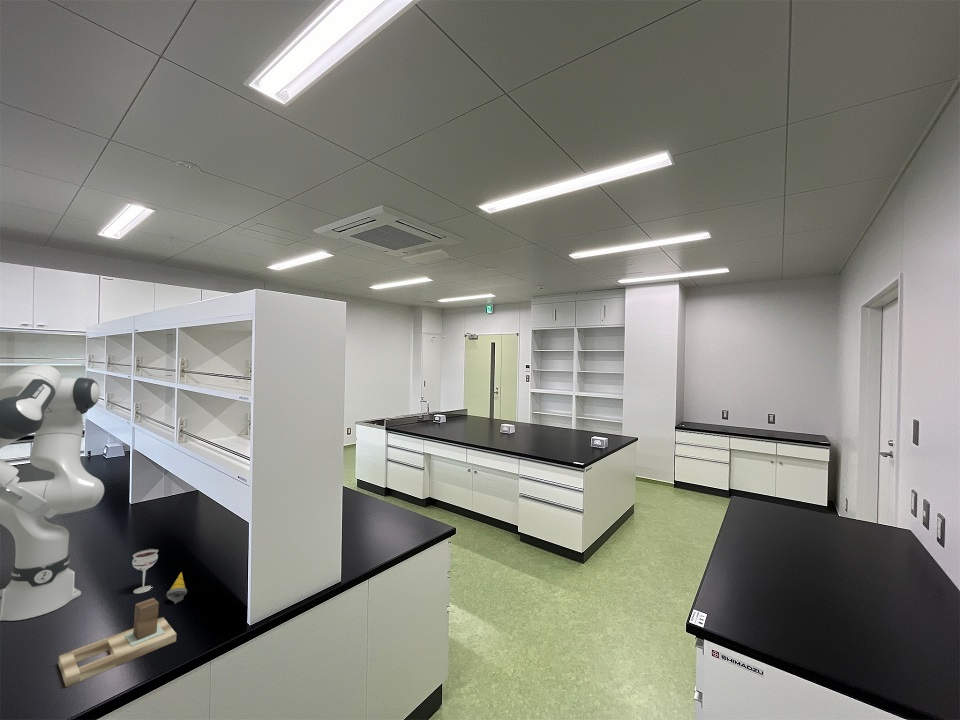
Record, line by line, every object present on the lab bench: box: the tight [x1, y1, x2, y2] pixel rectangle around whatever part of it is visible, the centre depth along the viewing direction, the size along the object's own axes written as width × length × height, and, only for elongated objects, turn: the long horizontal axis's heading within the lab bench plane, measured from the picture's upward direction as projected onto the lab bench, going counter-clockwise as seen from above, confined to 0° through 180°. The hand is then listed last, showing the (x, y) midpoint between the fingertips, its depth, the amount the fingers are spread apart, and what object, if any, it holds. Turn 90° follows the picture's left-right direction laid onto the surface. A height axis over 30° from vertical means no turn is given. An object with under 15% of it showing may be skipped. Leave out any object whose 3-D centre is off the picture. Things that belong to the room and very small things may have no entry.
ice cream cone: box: [165, 571, 188, 605], centre depth 128 cm, size 5×5×10 cm
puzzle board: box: [57, 616, 177, 688], centre depth 103 cm, size 12×21×2 cm, turn 143°
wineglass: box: [131, 548, 159, 594], centre depth 133 cm, size 7×7×12 cm
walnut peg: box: [133, 597, 160, 640], centre depth 107 cm, size 4×4×8 cm
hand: (46, 511), depth 100 cm, fingers open, 8 cm apart
